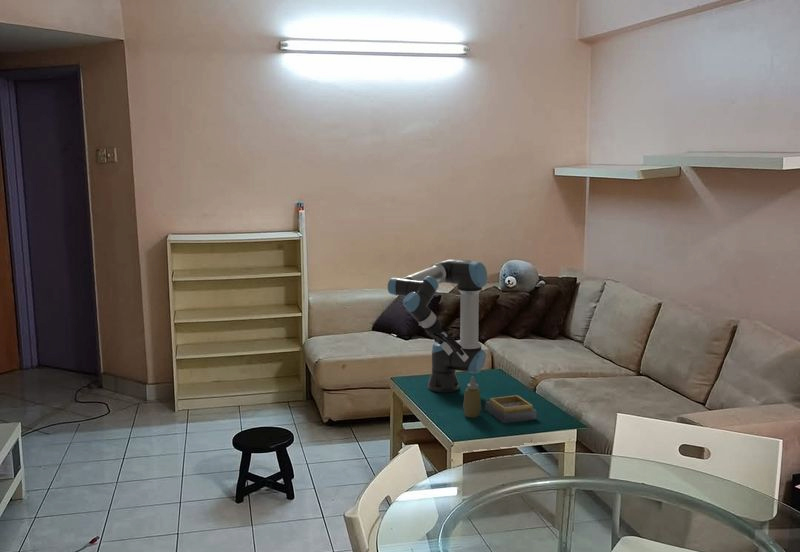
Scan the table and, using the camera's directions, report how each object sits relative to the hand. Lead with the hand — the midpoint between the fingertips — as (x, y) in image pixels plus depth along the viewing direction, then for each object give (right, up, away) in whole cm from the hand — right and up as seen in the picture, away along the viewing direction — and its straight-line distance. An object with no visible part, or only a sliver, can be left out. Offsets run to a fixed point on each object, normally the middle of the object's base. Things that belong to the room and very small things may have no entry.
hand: (458, 356), depth 341 cm
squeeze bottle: (+6, -27, +7) cm, 29 cm away
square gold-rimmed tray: (+24, -27, +9) cm, 37 cm away
